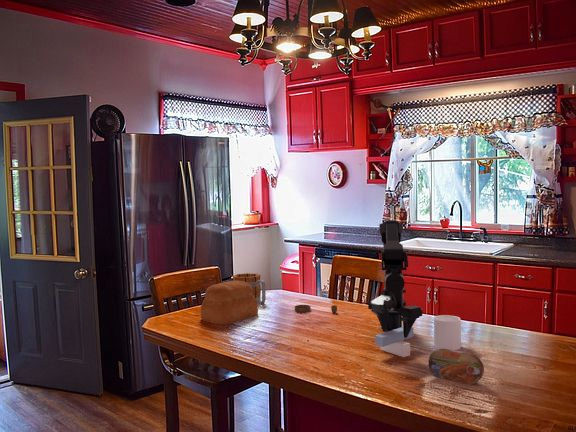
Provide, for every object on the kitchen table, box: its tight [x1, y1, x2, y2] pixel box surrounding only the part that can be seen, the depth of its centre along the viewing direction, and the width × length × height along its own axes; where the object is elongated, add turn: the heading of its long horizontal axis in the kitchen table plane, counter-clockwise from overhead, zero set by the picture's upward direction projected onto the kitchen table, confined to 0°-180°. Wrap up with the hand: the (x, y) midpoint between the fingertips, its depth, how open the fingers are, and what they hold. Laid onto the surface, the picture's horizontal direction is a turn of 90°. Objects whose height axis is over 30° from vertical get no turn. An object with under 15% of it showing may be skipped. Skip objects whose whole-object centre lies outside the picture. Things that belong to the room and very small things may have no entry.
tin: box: [428, 349, 485, 386], centre depth 143 cm, size 15×3×8 cm, turn 51°
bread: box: [200, 280, 259, 326], centre depth 217 cm, size 18×22×17 cm
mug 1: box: [231, 272, 267, 305], centre depth 244 cm, size 20×14×15 cm
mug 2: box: [433, 314, 462, 351], centre depth 172 cm, size 9×12×11 cm
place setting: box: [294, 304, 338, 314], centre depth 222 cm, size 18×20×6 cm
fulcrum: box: [380, 340, 411, 358], centre depth 166 cm, size 11×12×5 cm
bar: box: [374, 326, 414, 348], centre depth 166 cm, size 16×3×3 cm, turn 131°
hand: (394, 334), depth 166 cm, fingers open, 9 cm apart
